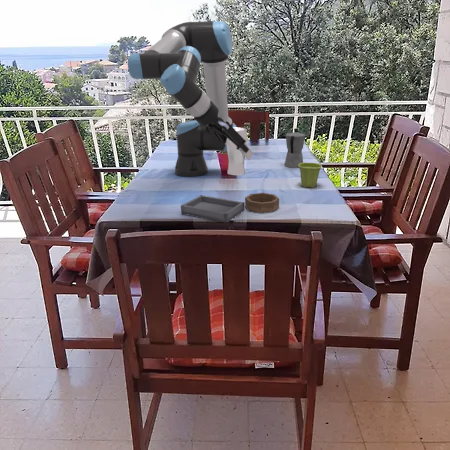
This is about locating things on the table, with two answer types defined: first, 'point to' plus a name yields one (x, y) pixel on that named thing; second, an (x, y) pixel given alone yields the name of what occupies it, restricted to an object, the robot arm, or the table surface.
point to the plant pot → (309, 174)
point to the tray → (213, 208)
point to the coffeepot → (294, 149)
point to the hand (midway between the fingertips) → (245, 154)
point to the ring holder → (262, 202)
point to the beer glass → (236, 154)
